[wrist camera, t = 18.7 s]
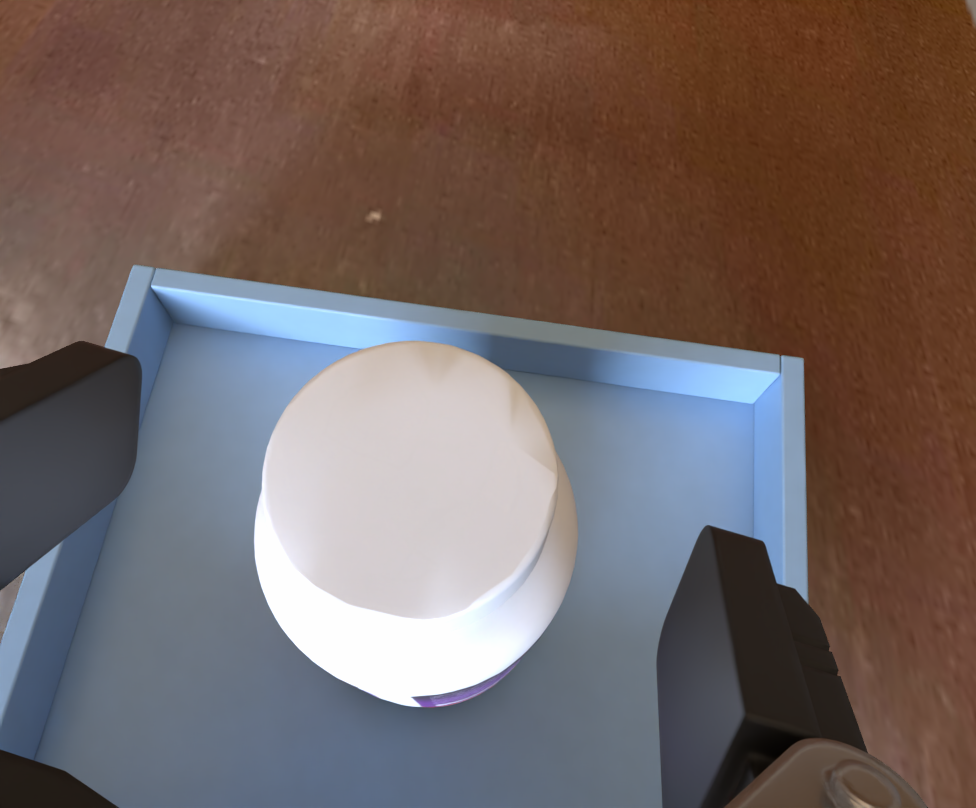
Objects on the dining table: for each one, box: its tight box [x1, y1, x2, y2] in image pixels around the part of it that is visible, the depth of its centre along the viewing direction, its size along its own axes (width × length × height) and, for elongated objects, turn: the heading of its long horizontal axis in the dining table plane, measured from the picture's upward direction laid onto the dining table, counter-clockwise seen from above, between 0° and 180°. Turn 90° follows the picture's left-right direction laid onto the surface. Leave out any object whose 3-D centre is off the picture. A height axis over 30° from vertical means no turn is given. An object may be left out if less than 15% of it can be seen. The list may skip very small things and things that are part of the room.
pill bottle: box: [254, 341, 578, 708], centre depth 15 cm, size 5×5×10 cm
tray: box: [0, 265, 808, 808], centre depth 19 cm, size 17×13×2 cm
